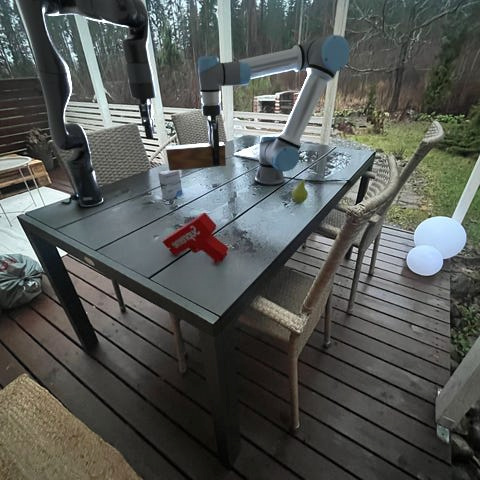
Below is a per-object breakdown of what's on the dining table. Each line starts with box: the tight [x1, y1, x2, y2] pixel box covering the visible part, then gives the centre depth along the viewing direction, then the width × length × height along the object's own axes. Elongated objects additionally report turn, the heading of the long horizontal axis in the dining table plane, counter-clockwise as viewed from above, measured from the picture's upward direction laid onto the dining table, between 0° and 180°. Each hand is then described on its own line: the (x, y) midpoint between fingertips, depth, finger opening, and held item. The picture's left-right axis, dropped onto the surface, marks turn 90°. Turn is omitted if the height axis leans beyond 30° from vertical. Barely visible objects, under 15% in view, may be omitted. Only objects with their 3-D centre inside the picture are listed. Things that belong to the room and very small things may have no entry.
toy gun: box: [162, 212, 230, 264], centre depth 85 cm, size 18×4×15 cm
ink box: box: [157, 169, 184, 200], centre depth 125 cm, size 8×5×12 cm, turn 135°
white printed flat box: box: [233, 143, 260, 161], centre depth 184 cm, size 27×35×5 cm
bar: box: [165, 141, 227, 171], centre depth 115 cm, size 24×6×9 cm, turn 104°
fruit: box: [291, 174, 311, 204], centre depth 118 cm, size 7×8×12 cm
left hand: (150, 136), depth 92 cm, fingers open, 8 cm apart
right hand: (215, 162), depth 118 cm, fingers closed on bar, 6 cm apart
